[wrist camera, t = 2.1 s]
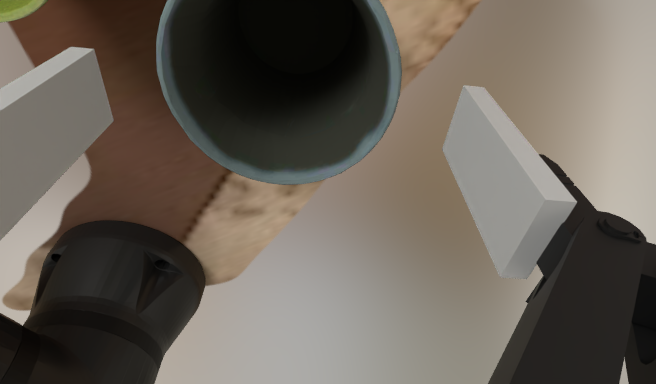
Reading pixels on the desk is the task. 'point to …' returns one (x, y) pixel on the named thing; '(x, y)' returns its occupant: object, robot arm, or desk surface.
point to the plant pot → (18, 8)
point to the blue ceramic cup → (280, 82)
